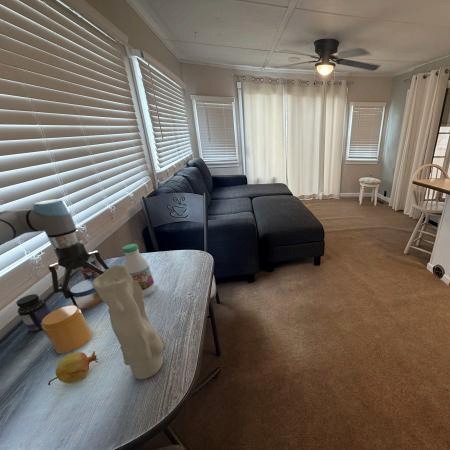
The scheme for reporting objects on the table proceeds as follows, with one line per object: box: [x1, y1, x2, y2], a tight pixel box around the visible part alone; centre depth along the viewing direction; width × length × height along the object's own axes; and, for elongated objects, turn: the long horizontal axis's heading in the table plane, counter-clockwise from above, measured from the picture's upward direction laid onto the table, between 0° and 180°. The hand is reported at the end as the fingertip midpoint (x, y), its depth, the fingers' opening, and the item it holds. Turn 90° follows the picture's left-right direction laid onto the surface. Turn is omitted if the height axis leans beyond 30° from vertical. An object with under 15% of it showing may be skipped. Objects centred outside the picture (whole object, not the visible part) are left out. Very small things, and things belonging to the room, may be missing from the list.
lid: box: [70, 278, 96, 298], centre depth 89 cm, size 9×9×2 cm
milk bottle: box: [122, 243, 156, 297], centre depth 91 cm, size 8×8×20 cm
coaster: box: [70, 291, 104, 311], centre depth 91 cm, size 12×12×1 cm
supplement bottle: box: [80, 258, 103, 281], centre depth 98 cm, size 6×6×11 cm
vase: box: [92, 264, 167, 380], centre depth 58 cm, size 9×8×30 cm
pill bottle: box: [15, 293, 52, 333], centre depth 77 cm, size 6×6×11 cm
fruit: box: [47, 351, 99, 386], centre depth 61 cm, size 7×7×10 cm
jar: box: [42, 305, 93, 354], centre depth 71 cm, size 8×8×10 cm
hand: (91, 296), depth 91 cm, fingers closed on lid, 9 cm apart
